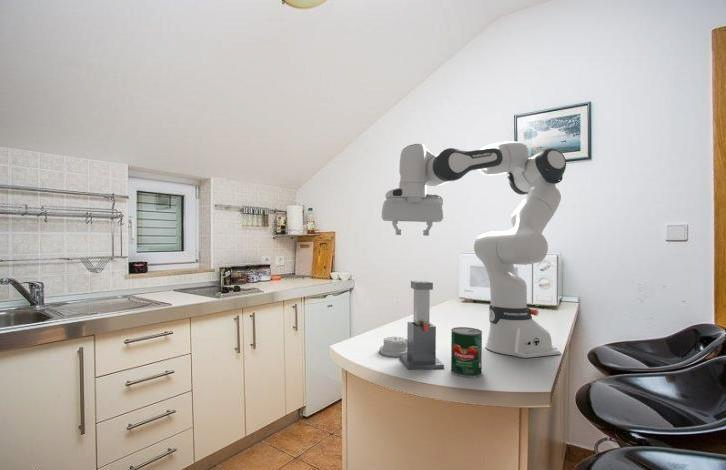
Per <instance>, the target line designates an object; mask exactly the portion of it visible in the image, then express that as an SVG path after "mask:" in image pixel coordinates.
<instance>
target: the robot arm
mask: <svg viewBox="0 0 726 470" xmlns="http://www.w3.org/2000/svg"><path fill="white" fill-rule="evenodd" d="M399 158H400V159H399V170H398V171H399V176H400V179H399V183H398V184H399V185H398V186H399V187H397V188H394V189H390V190H388V191H387V192H386V193H385V195H384V197H385V199H386V200H384V201H383V203H382V209H381V219H382V220H383V221H384V222H392V227H393V229H394V230H395V236H402V229H399V227H398V224H399V223H398V222H411V223H412V222H416V223H417V222H419V223H420V222H421V223H426V226H427V227H426V229H423V231H422V232H423V233H422V234H423V236H424V237H425V236H426V237H428V236H430V230H431V228H432V227H433V223H440V222H442V221H443V220H444V210H443V205H444V199H443V197H442V196H441V195H439V194H432V193H427V186H429V187H438V186H441V185H444V184H446V183H450V182H454V181H458V180H460V179H462V178H463V177H464V176H465V175H466V174H468V173H469V172H474V171H480V173H481V174H483V175H484V176H497V175H501V174H506V176H507V177H506V178H507V180H508V184H509V187H510V188H511V190H512V191H513V192H514V193H516V194H517V195H521V196H522V195H524V196H525V195H526V197H524V199H523V200H522V201H521V202H520V203H519V205H518V206H517V208H516V209H515V210H514V211H513V213H512V214H511V217H510V220H511V226H512V227H513V228H511V229H508V230H503V231H501V230H500V231H499V230H498V231H489V232H486V233H483V234H480V235H479V236H477V237H476V239H475V241H474V243H473V244H474V245H473V251H474V254H475V256H476V257H477V258H478V259H479V260H480V262H481V263H482V264H483V266H484V268H485V270H486V273H487V276H488V281H489V285H490V286H489V289H490V290H489V292H490V304H489V307H488V309H489V311H488V318H489V321H488V322H489V329H488V337H487V340H486V343H485V348H486V349H487V350H489V351H492V352H494V353H498V354H503V355H508V356H509V355H510V356H514V357H517V358H523V359H525V358H527V359H528V358H529V359H530V358H536V357H537V358H538V357H545V356H546V357H547V356H554V355H557V356H558V355H561V350H560V349H559V348H558V347H556V346H554V345H553V342H552V337H551V333H550V332H549V331H548V330H547V329H545V327H543V326H542V325H540V324H539V323H538V322H536V321H535V320H534V319H533V316H537V317H538V315H539V314H540V313H539V310H538V309H536V308H530V307H528V303H527V302H528V300H527V297H528V296H527V295H528V293H527V292H528V291H527V289H528V288H527V283H526V281H525V280H524V279H523V278H522V277H520V276H519V275H518V273H517V272H516V270H515V267H514V265H522V266H523V265H524V266H526V265H533V264H538V263H540V262H542V261H544V259H545V258H546V257H547V255H548V251H549V243H548V241H547V239H546V237H545V236H544V235H543V232H544V229H545V228H546V227H547V225H548V224H549V222H550V221H551V219H552V218H553V216H554V215H555V213H556V212H557V210H558V207H559V206H560V203H561V199H562V195H561V192H560V190H559V189H558V188H557V186H556V185H557V184H559V183H561V182H562V180H563V175H564V174H565V171H566V167H567V160H566V157H565V156H564V154H563V153H562V152H561V151H559V150H558V149H556V148H547V149H544V150H542V151H541V150H540V151H539V152H538V153H537V154H535V155H533V156H531V155H530V151H529V147H527V145H526V144H524V143H523V142H520V141H503V142H497V143H492V144H488V145H486V146H484V147H482V148H480V149H475V150H468V151H467V150H461V149H460V148H459V149H458V148H452V147H450V148H445V149H444V150H442V151H441V152H439V153H438V154H435V153H432V152H431V151H429V149H427V148H426V146H425V145H424V144H422V143H413V144H409V145H407V146H406V147H404V148H403V149H402V150H401V152H400V156H399Z"/></svg>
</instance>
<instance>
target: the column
mask: <svg viewBox="0 0 726 470" xmlns="http://www.w3.org/2000/svg"><path fill="white" fill-rule="evenodd" d="M410 288H411V289H413V319H412V320H413V321H412V322H413V324H414V325H415V326H422V323H428V326H429V322H430V306H431V305H430V304H431V303H430V299H431V298H430V297H431V296H430V294H431V293H430V291H433V290H434V282H432V281H429V280H410Z"/></svg>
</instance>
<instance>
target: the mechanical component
mask: <svg viewBox="0 0 726 470" xmlns="http://www.w3.org/2000/svg"><path fill="white" fill-rule="evenodd" d="M379 353H380V354H381V355H383V356H386V357H395V358H400V355H407V338H405V337H401V336H387V337H384V338H383V345H381V346H380V347H379Z"/></svg>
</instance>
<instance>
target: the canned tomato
mask: <svg viewBox="0 0 726 470" xmlns="http://www.w3.org/2000/svg"><path fill="white" fill-rule="evenodd" d="M450 330H451V333H450V334H451V336H450V337H451V340H450V341H451V342H450V343H451V345H450V347H451V349H450V351H451V352H450V353H451V354H450V355H451V356H450V357H451V358H450V359H451V360H450V365H451V366H450V371H451V373H452V374H454V375H457V376H459V377H463V378H477V377H478V378H479V377H480V376H481V375H482V374H483V372H482V369H483V368H482V367H483V365H482V364H483V362H482V358H483V356H482V355H483V352H482V351H483V341H482V340H483V336H482V335H483V331H482V330H481V329H479V328H473V327H468V326H467V327H466V326H464V327H463V326H459V327H458V326H457V327H452V328H451V329H450Z"/></svg>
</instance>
